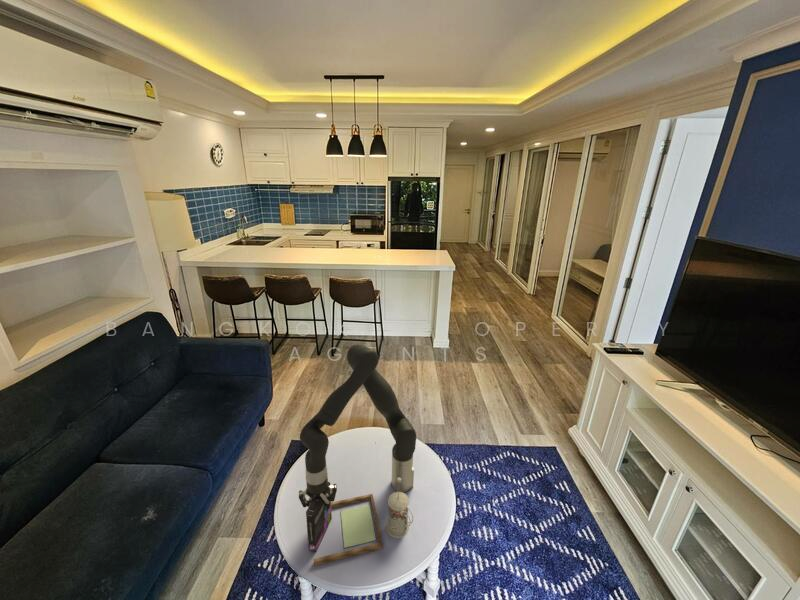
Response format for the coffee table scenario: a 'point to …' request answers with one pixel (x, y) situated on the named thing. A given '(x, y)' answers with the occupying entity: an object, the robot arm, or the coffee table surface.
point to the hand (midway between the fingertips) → (319, 510)
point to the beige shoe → (398, 514)
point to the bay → (355, 529)
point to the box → (317, 522)
